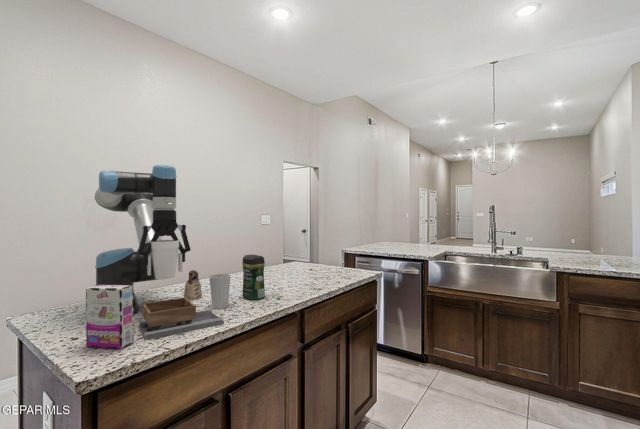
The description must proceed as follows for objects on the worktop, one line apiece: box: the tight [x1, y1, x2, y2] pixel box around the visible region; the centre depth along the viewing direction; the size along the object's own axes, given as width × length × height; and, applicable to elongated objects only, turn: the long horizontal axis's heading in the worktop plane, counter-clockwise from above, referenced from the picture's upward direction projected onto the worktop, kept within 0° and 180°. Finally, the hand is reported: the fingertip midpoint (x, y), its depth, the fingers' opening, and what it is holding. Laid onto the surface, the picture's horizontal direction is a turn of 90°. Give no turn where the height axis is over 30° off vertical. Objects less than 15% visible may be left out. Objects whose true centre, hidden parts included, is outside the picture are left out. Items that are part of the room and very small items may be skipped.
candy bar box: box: [85, 284, 135, 350], centre depth 91 cm, size 11×5×16 cm, turn 81°
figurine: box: [183, 269, 203, 301], centre depth 142 cm, size 7×7×12 cm
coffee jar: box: [241, 254, 266, 301], centre depth 141 cm, size 10×8×19 cm
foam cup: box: [150, 239, 180, 280], centre depth 116 cm, size 10×9×13 cm
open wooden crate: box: [142, 297, 197, 330], centre depth 105 cm, size 13×13×5 cm
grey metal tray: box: [138, 308, 225, 341], centre depth 107 cm, size 14×23×2 cm, turn 126°
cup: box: [208, 273, 231, 310], centre depth 128 cm, size 8×8×12 cm
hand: (165, 272), depth 116 cm, fingers closed on foam cup, 9 cm apart
